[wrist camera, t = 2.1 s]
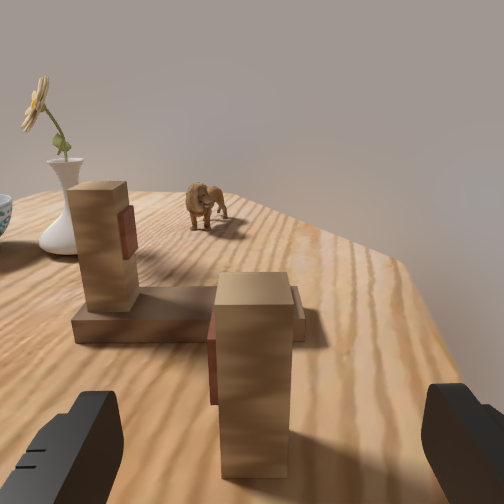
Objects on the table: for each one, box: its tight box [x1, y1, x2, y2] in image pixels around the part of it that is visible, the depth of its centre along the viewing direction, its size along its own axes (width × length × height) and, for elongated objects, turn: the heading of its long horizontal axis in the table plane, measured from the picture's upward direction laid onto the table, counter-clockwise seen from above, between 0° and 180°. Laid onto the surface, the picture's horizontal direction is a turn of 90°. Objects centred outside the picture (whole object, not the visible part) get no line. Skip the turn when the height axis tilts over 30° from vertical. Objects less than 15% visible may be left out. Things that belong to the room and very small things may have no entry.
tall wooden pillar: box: [207, 272, 294, 478], centre depth 23 cm, size 4×4×12 cm
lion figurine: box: [186, 183, 227, 231], centre depth 72 cm, size 15×5×9 cm, turn 170°
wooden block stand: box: [66, 181, 306, 343], centre depth 38 cm, size 22×7×14 cm, turn 90°
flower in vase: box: [21, 75, 84, 255], centre depth 56 cm, size 13×11×25 cm
